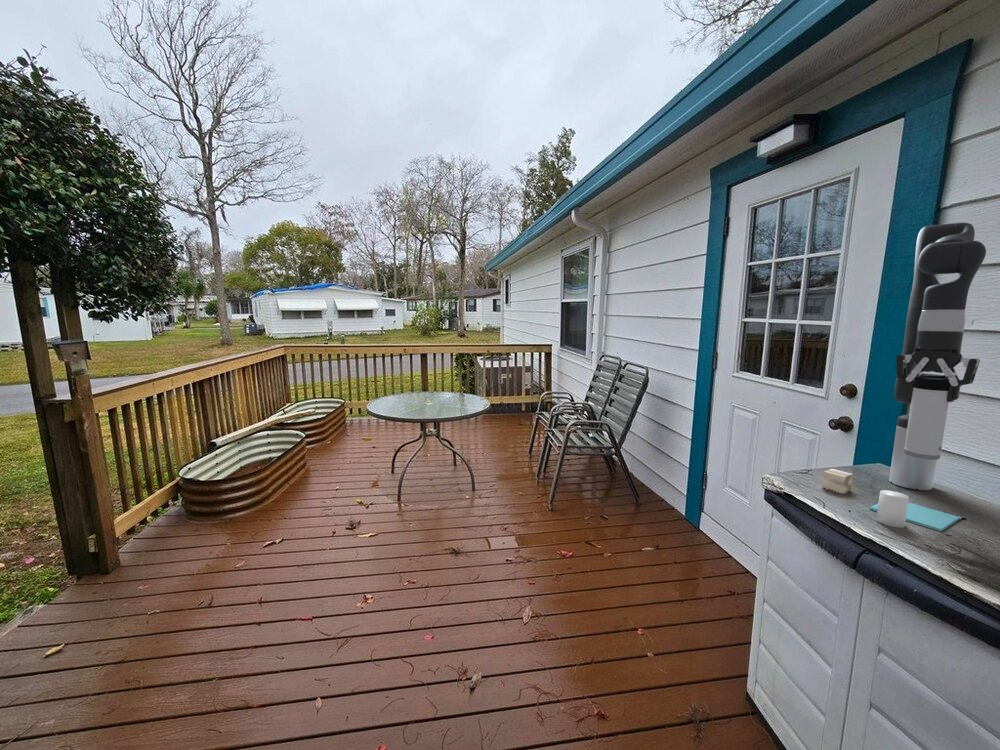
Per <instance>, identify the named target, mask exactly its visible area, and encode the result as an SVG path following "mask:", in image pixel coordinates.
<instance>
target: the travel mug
mask: <svg viewBox="0 0 1000 750" xmlns="http://www.w3.org/2000/svg"><path fill="white" fill-rule="evenodd" d="M942 375H943V374H942ZM914 383H915V385H914V387H913V389H914V390H913V393H912V400H911V404H910V407H909V413H908V415H909V420H908V427H907V434H906V441H905V448H904V453H905V454H906V455H909V456H912V457H916V458H921V459H928V460H937V461H938V460H940V458H941V455H942V454H941V451H942V447H943V442H944V441H943V440H944V434H945V429H946V422H947V414H948V408H949V403H950V402H947V398H948V391H949V386H951V384H950V382H949V379H948V378H947V377H946V376H945V374H944V375H943V376H919V377H915V381H914Z"/></svg>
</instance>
